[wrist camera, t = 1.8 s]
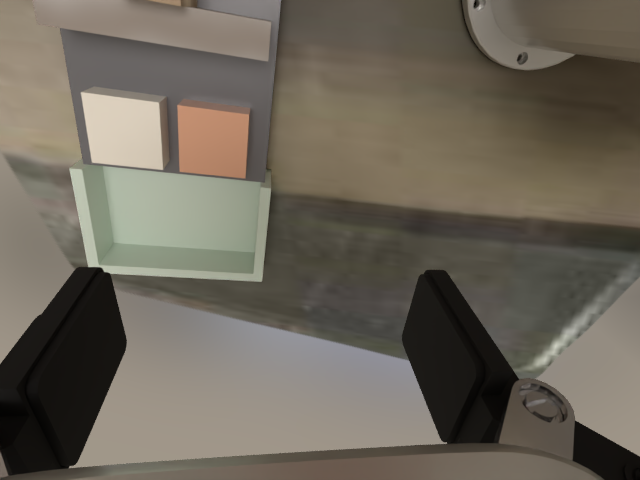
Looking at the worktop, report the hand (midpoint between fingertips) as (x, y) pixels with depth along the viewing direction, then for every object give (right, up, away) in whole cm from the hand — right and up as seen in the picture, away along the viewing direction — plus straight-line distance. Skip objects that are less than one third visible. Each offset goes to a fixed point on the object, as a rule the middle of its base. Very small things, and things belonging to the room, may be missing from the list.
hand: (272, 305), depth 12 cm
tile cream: (-12, +10, +14) cm, 21 cm away
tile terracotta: (-6, +10, +15) cm, 19 cm away
